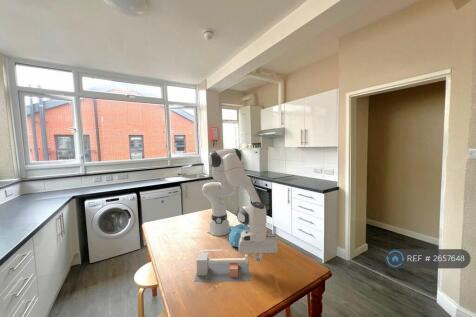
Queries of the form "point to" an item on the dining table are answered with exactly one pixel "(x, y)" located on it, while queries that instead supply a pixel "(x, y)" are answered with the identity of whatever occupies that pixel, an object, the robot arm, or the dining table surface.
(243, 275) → the board
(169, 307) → the dining table surface
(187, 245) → the dining table surface
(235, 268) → the salmon orange rectangular block
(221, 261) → the bar
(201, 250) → the white mat
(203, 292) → the dining table surface
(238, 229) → the decorative pot
